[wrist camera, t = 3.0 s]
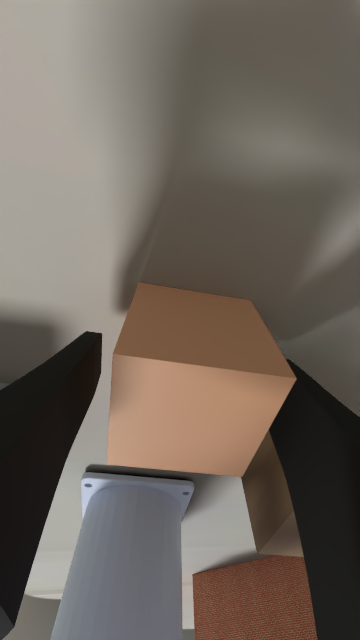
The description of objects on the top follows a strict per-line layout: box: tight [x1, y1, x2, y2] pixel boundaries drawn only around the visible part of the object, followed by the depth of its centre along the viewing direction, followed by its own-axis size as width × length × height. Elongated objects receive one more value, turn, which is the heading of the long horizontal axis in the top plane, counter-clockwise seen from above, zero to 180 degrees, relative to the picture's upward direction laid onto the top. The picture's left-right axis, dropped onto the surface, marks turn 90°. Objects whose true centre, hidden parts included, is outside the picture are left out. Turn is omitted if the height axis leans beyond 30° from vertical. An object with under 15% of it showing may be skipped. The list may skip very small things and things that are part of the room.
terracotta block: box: [107, 282, 297, 477], centre depth 10 cm, size 5×5×5 cm
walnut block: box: [241, 430, 304, 557], centre depth 14 cm, size 5×5×5 cm
